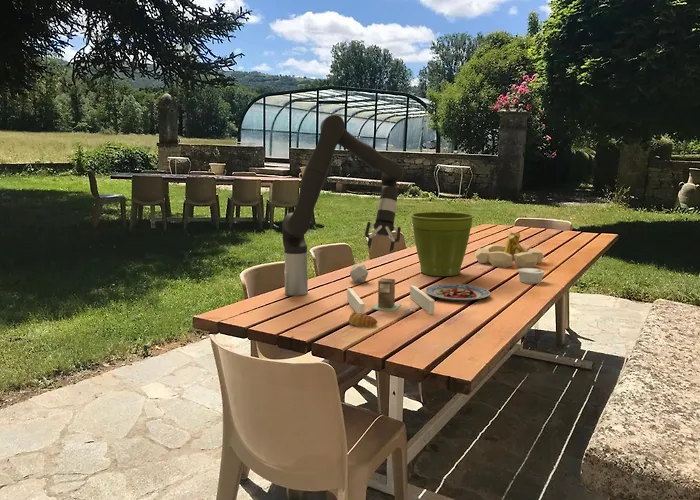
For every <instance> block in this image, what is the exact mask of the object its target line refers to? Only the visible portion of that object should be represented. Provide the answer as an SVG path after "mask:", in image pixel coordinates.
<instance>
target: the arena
mask: <svg viewBox="0 0 700 500" xmlns="http://www.w3.org/2000/svg"><path fill="white" fill-rule="evenodd" d="M409 289H410V290H409V298H410V299H411V300H412V301H413V302H415V303H416V304H417V305H418V306H419V307H421V308H422V309H423V310H424V311H425V312H426V313H428V314H429V315H435V303H436V301H435V299H433V298H432V297H431V296H430V295H429V294H427V293H426V292H424V291H422V290H421V289H419V288H418V287H417V286H415V285H410V287H409ZM346 291H347V292H346V293H347V295H346V296H347V298H346V299H347V302H348V303H349V305H350V307H351V308H352V309H353V311H354V312H356V313H362V314H366V312H365V307H366V306H365V302H364V301H363V300H362V299H361V298H360V297H359V296H358V294H357V293H356V292H355V291H354V289H353V288H351V287H350V288H348V287H347V290H346Z"/></svg>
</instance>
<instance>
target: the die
mask: <svg viewBox="0 0 700 500" xmlns="http://www.w3.org/2000/svg"><path fill="white" fill-rule="evenodd" d="M368 274H369V271H368V269H367V268H366V265H365V264H353V265H352V267H351V269H350V272H349V275H350V278H351V280H352V282H353V283H366V280H367V277H368Z"/></svg>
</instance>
